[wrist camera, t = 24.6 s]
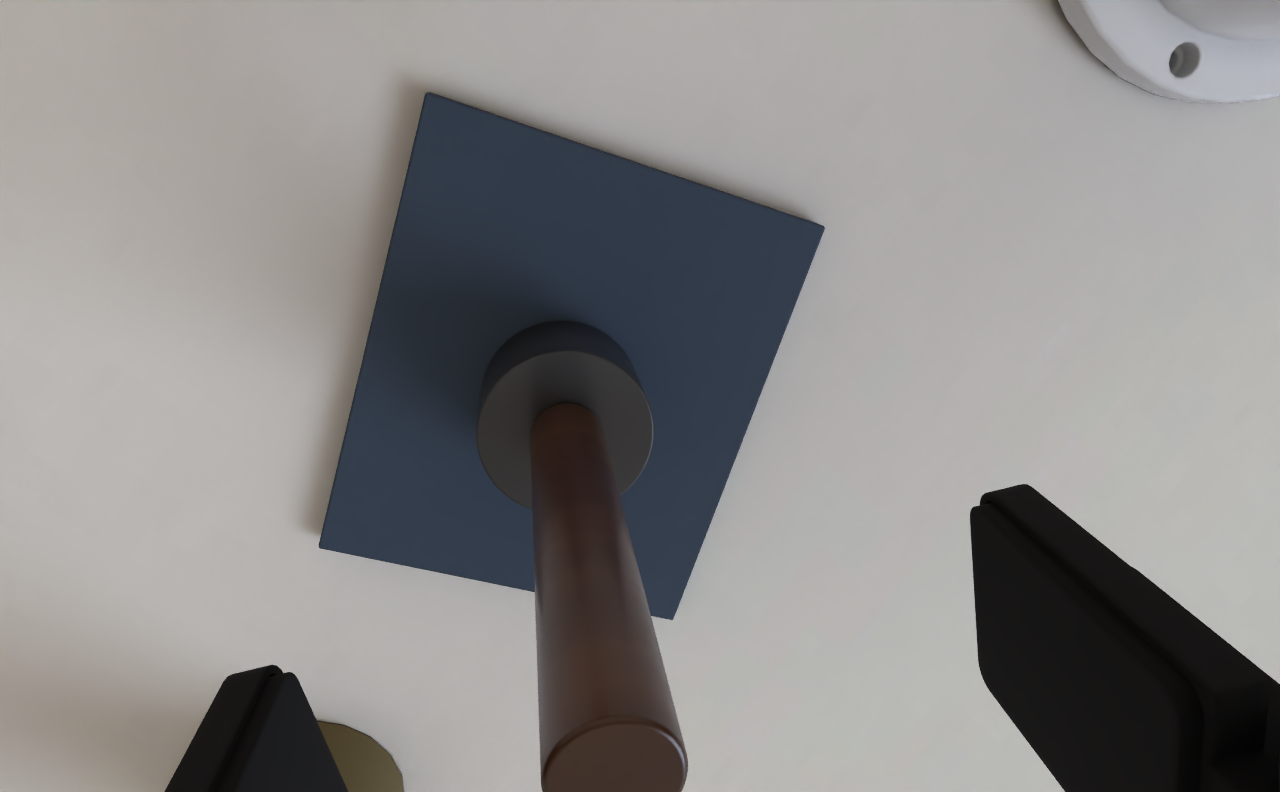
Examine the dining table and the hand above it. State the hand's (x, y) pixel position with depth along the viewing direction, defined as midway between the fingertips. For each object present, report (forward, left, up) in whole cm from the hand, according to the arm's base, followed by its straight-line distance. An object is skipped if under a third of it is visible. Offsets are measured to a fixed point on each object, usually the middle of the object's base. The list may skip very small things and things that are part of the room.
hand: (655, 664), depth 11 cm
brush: (+1, -1, -13) cm, 13 cm away
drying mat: (+1, 0, -13) cm, 13 cm away
